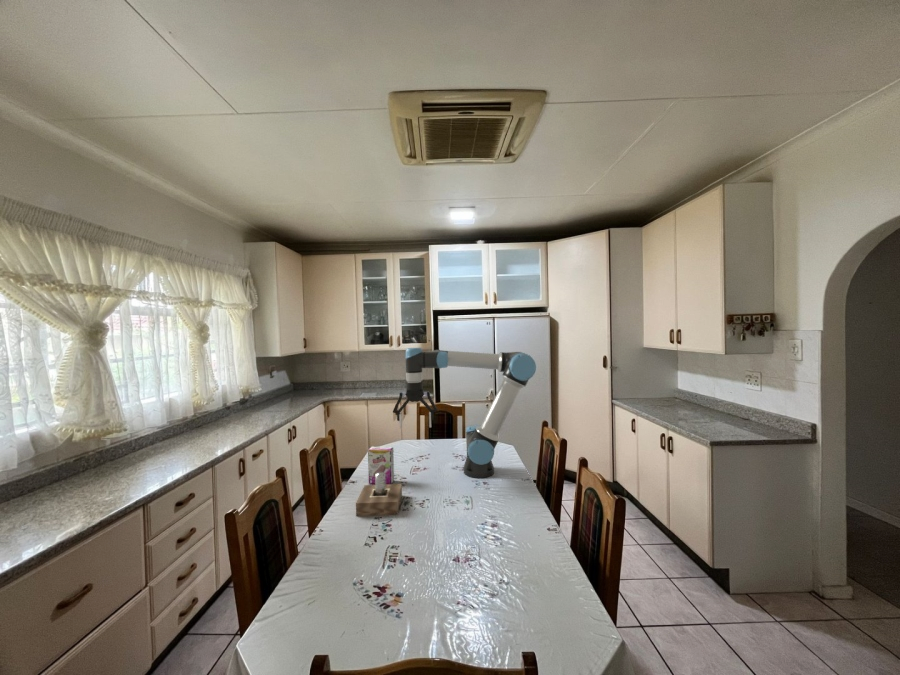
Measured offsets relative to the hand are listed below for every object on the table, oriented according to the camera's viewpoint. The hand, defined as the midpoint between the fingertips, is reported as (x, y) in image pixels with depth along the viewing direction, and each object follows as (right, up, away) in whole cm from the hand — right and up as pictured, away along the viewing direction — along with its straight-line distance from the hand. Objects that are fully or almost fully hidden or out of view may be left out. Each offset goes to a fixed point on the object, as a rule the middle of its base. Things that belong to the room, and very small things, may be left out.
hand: (415, 427), depth 163 cm
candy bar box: (-16, -27, +4) cm, 32 cm away
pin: (-13, -26, -18) cm, 34 cm away
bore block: (-13, -27, -18) cm, 35 cm away
